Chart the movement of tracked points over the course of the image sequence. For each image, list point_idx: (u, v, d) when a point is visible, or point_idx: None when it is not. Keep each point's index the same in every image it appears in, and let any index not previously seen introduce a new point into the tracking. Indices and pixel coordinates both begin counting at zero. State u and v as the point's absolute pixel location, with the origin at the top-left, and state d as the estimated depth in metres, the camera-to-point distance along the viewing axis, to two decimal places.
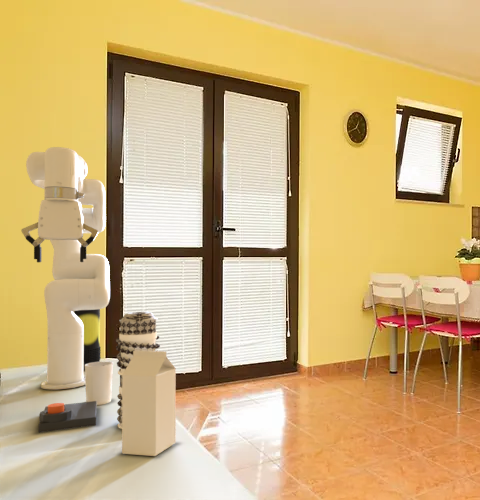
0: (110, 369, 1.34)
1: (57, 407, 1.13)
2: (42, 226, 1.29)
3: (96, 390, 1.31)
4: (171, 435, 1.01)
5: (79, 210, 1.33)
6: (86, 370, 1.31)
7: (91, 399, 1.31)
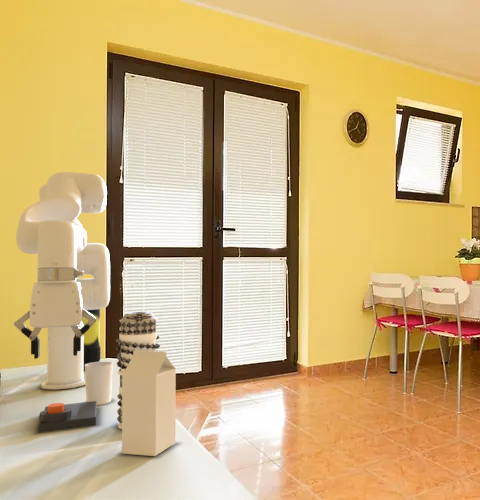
0: (110, 369, 1.34)
1: (57, 407, 1.13)
2: (34, 314, 1.11)
3: (96, 390, 1.31)
4: (171, 435, 1.01)
5: (78, 292, 1.15)
6: (86, 370, 1.31)
7: (91, 399, 1.31)
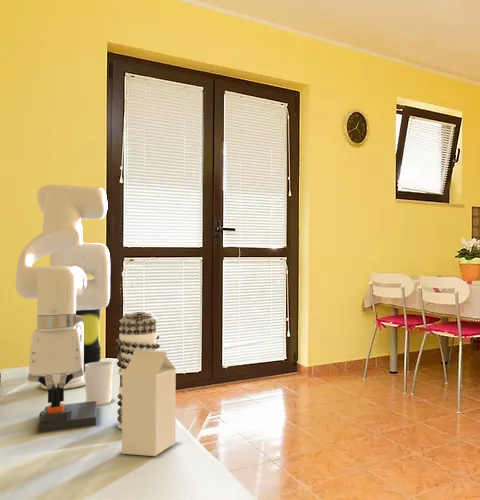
0: (110, 369, 1.34)
1: (57, 408, 1.13)
2: (34, 362, 1.10)
3: (96, 390, 1.31)
4: (171, 435, 1.01)
5: (77, 339, 1.14)
6: (86, 370, 1.31)
7: (91, 399, 1.31)
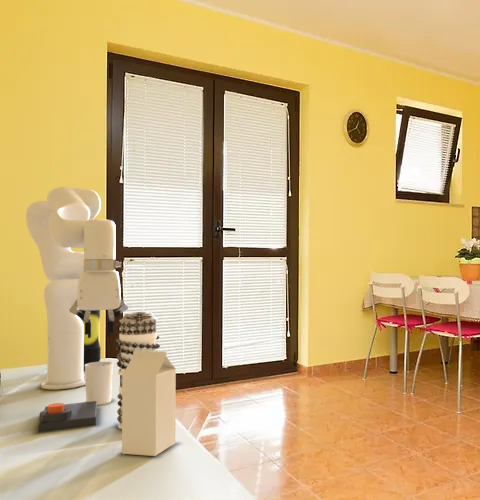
0: (110, 369, 1.34)
1: (57, 407, 1.13)
2: (82, 298, 1.31)
3: (96, 390, 1.31)
4: (171, 435, 1.01)
5: (117, 280, 1.35)
6: (86, 370, 1.31)
7: (91, 399, 1.31)
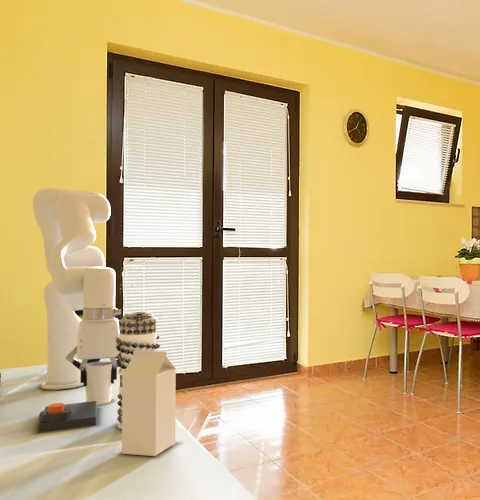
0: (110, 369, 1.34)
1: (57, 407, 1.13)
2: (81, 348, 1.30)
3: (96, 390, 1.31)
4: (171, 435, 1.01)
5: (117, 328, 1.34)
6: (86, 370, 1.31)
7: (91, 399, 1.31)
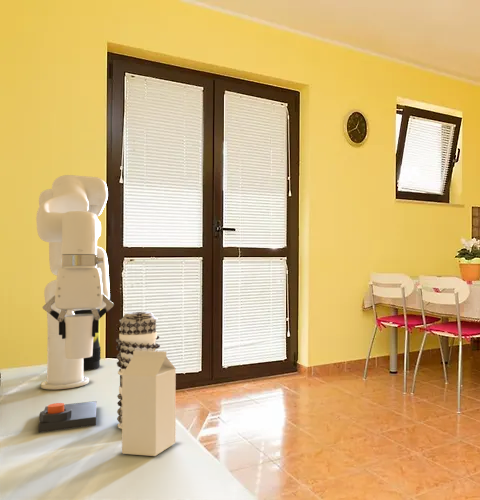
0: (91, 321, 1.24)
1: (57, 407, 1.13)
2: (60, 297, 1.21)
3: (76, 342, 1.21)
4: (171, 435, 1.01)
5: (98, 277, 1.24)
6: (65, 321, 1.21)
7: (70, 352, 1.21)
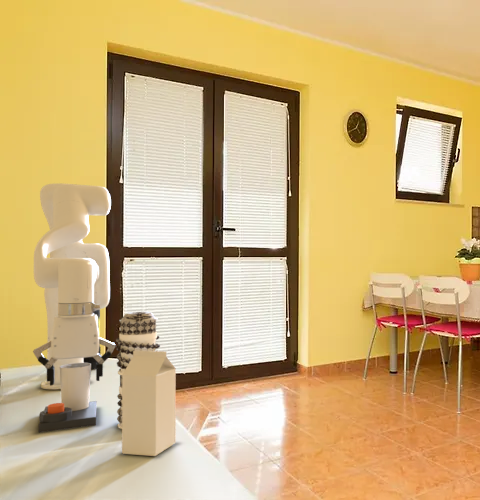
0: (88, 371, 1.22)
1: (57, 407, 1.13)
2: (56, 346, 1.19)
3: (72, 394, 1.19)
4: (171, 435, 1.01)
5: (95, 325, 1.23)
6: (61, 372, 1.20)
7: (66, 404, 1.19)
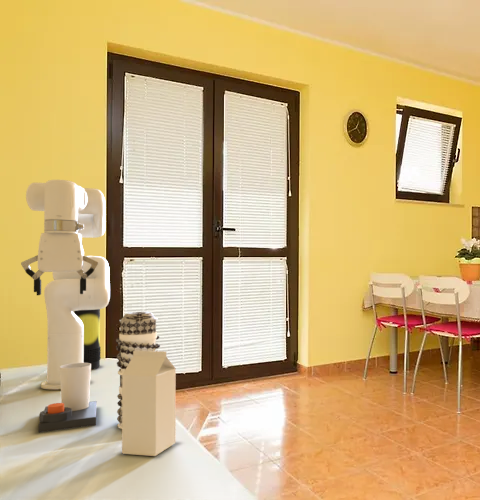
0: (88, 371, 1.22)
1: (57, 407, 1.13)
2: (42, 259, 1.29)
3: (72, 394, 1.19)
4: (171, 435, 1.01)
5: (79, 242, 1.33)
6: (61, 372, 1.20)
7: (66, 404, 1.19)
